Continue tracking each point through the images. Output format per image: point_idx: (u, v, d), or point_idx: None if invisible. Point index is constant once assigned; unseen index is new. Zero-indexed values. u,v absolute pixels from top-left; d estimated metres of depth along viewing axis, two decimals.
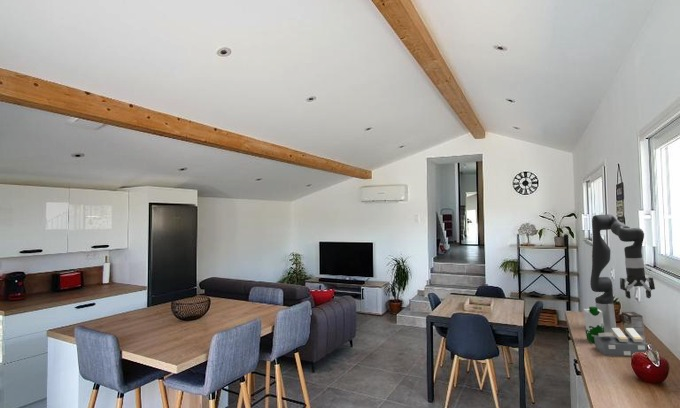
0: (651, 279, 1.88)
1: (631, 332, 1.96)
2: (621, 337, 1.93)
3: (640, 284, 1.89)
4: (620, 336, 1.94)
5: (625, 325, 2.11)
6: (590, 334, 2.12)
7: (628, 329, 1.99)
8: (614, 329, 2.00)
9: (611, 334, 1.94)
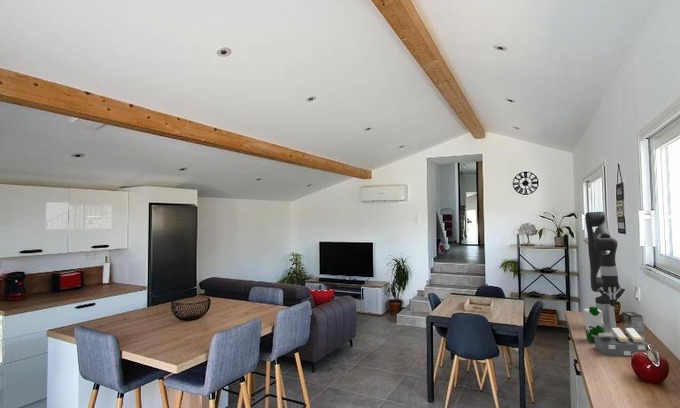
0: (623, 290, 2.00)
1: (631, 332, 1.96)
2: (621, 337, 1.93)
3: (611, 290, 2.02)
4: (620, 336, 1.94)
5: (625, 325, 2.11)
6: (590, 334, 2.12)
7: (628, 329, 1.99)
8: (614, 329, 2.00)
9: (611, 334, 1.94)
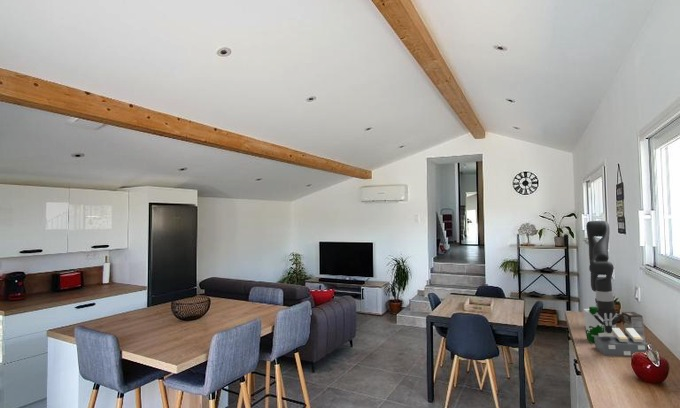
0: (619, 316, 1.93)
1: (631, 332, 1.96)
2: (621, 337, 1.93)
3: (607, 316, 1.94)
4: (620, 336, 1.94)
5: (625, 325, 2.11)
6: (590, 334, 2.12)
7: (628, 329, 1.99)
8: (614, 329, 2.00)
9: (611, 334, 1.94)
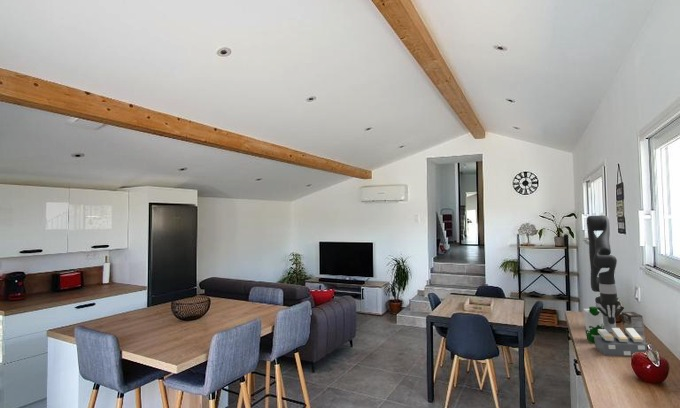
0: (622, 308, 1.98)
1: (631, 332, 1.96)
2: (621, 337, 1.93)
3: (610, 308, 1.99)
4: (620, 336, 1.94)
5: (625, 325, 2.11)
6: (590, 334, 2.12)
7: (628, 329, 1.99)
8: (614, 329, 2.00)
9: (612, 339, 1.94)
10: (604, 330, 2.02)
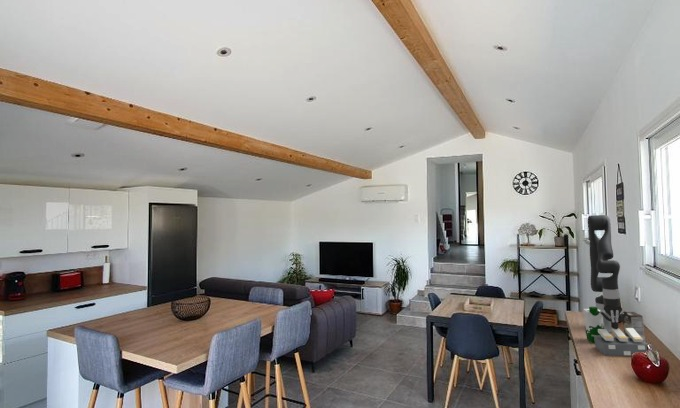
0: (625, 313, 2.00)
1: (631, 332, 1.96)
2: (621, 336, 1.93)
3: (613, 313, 2.01)
4: (620, 336, 1.94)
5: (625, 325, 2.11)
6: (590, 334, 2.12)
7: (628, 329, 1.99)
8: (614, 329, 2.00)
9: (612, 339, 1.94)
10: (604, 330, 2.02)
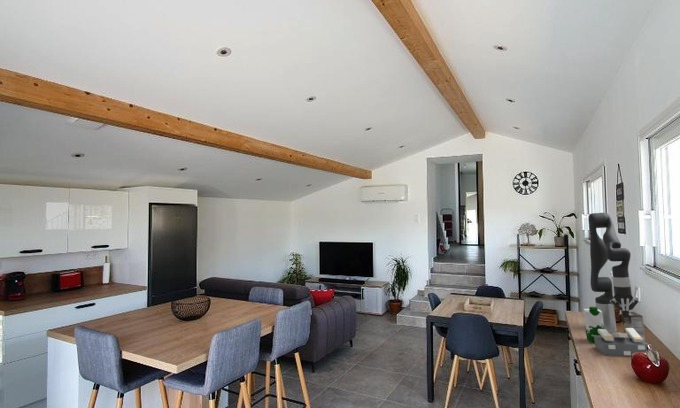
0: (636, 301, 1.97)
1: (631, 332, 1.96)
2: (620, 333, 1.94)
3: (624, 301, 1.99)
4: (620, 333, 1.95)
5: (625, 325, 2.11)
6: (590, 334, 2.12)
7: (628, 329, 1.99)
8: None
9: (612, 339, 1.94)
10: (604, 330, 2.02)
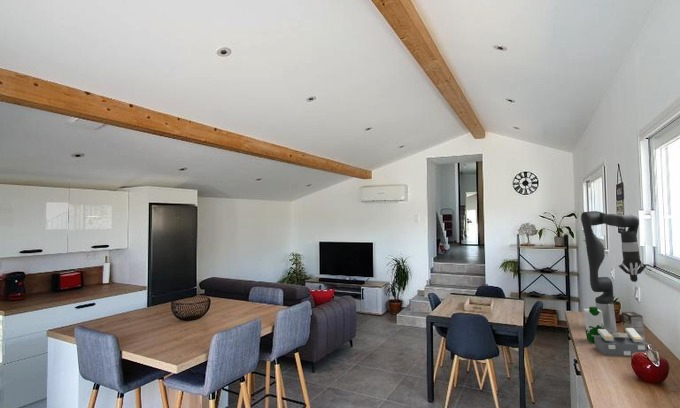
0: (644, 265, 2.03)
1: (631, 332, 1.96)
2: (620, 333, 1.94)
3: (633, 265, 2.05)
4: (620, 333, 1.95)
5: (625, 325, 2.11)
6: (590, 334, 2.12)
7: (628, 329, 1.99)
8: None
9: (612, 339, 1.94)
10: (604, 330, 2.02)
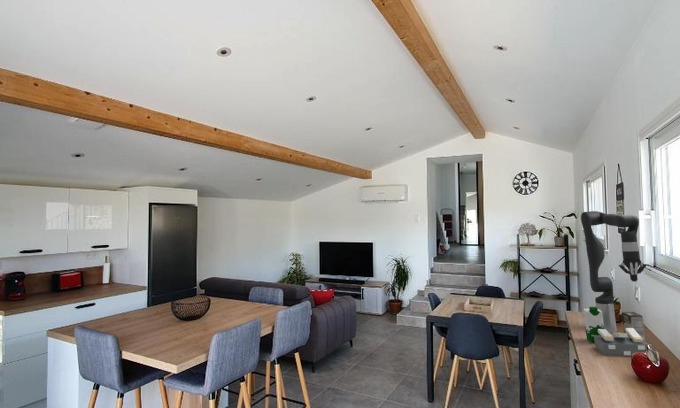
0: (644, 265, 2.04)
1: (631, 332, 1.96)
2: (620, 333, 1.94)
3: (633, 265, 2.05)
4: (620, 333, 1.95)
5: (625, 325, 2.11)
6: (590, 334, 2.12)
7: (628, 329, 1.99)
8: None
9: (612, 339, 1.94)
10: (604, 330, 2.02)
